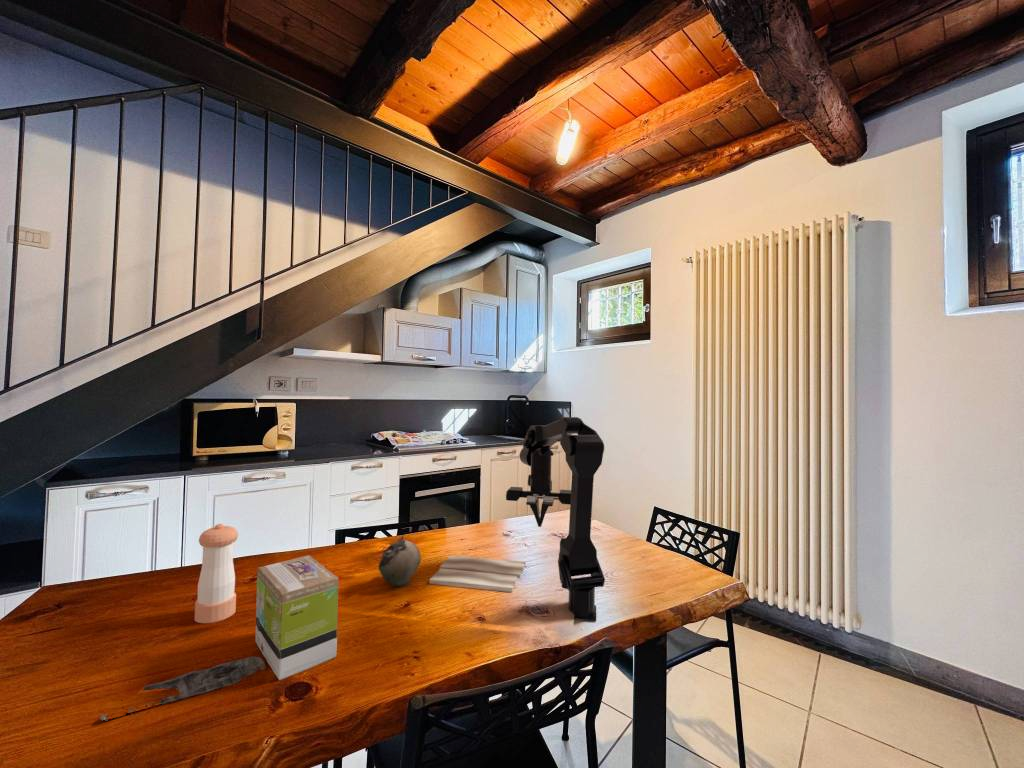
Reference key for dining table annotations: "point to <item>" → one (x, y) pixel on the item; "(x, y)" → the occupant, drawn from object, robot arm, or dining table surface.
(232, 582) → the pepper shaker
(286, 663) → the tea box
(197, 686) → the driftwood
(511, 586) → the board
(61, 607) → the dining table surface
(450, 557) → the beige flat panel
